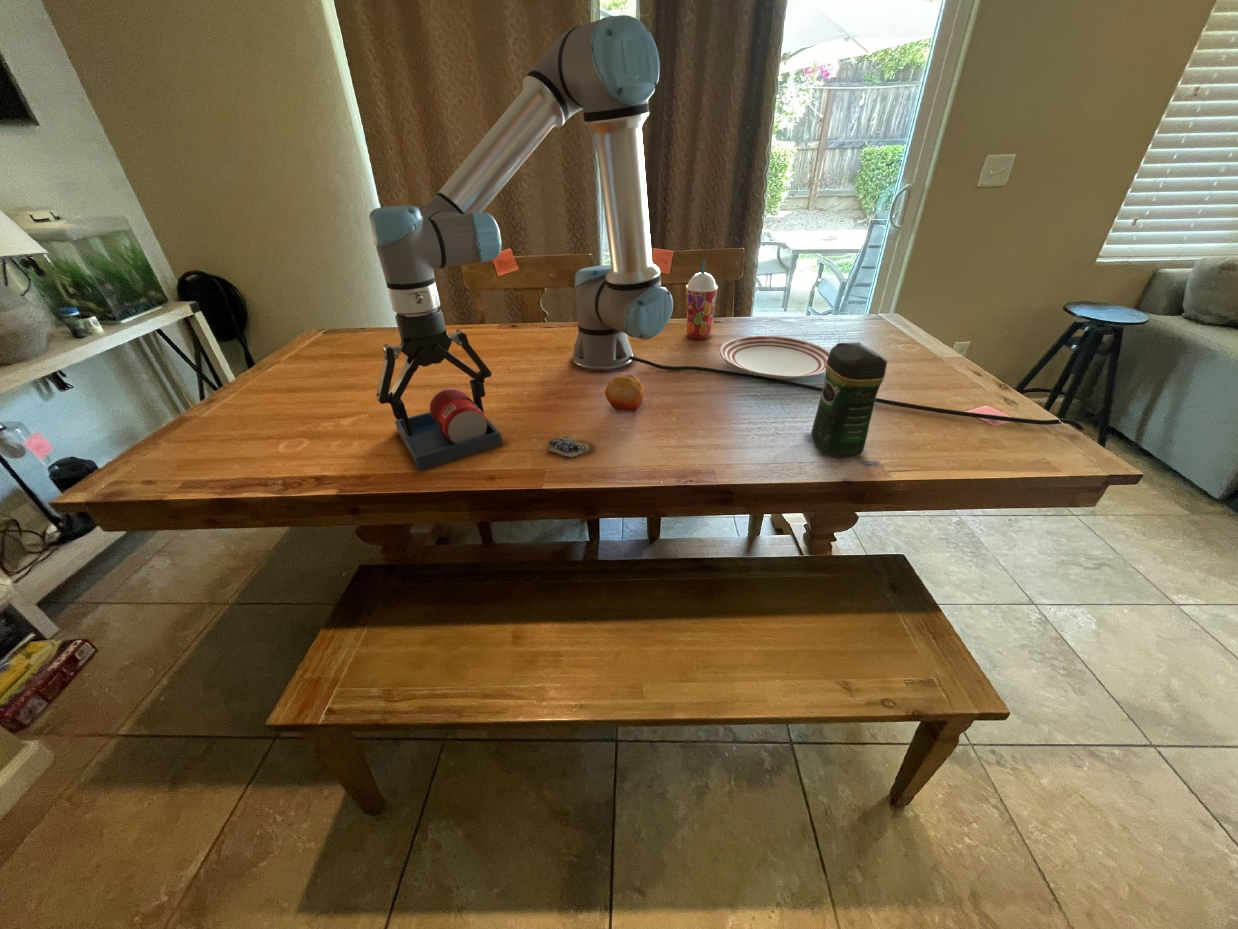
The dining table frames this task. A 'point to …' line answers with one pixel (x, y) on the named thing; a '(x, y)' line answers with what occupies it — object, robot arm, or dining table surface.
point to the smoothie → (700, 304)
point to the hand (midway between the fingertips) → (445, 422)
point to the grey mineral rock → (567, 447)
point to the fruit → (625, 393)
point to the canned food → (457, 415)
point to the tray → (441, 442)
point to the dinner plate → (775, 356)
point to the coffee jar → (847, 399)
